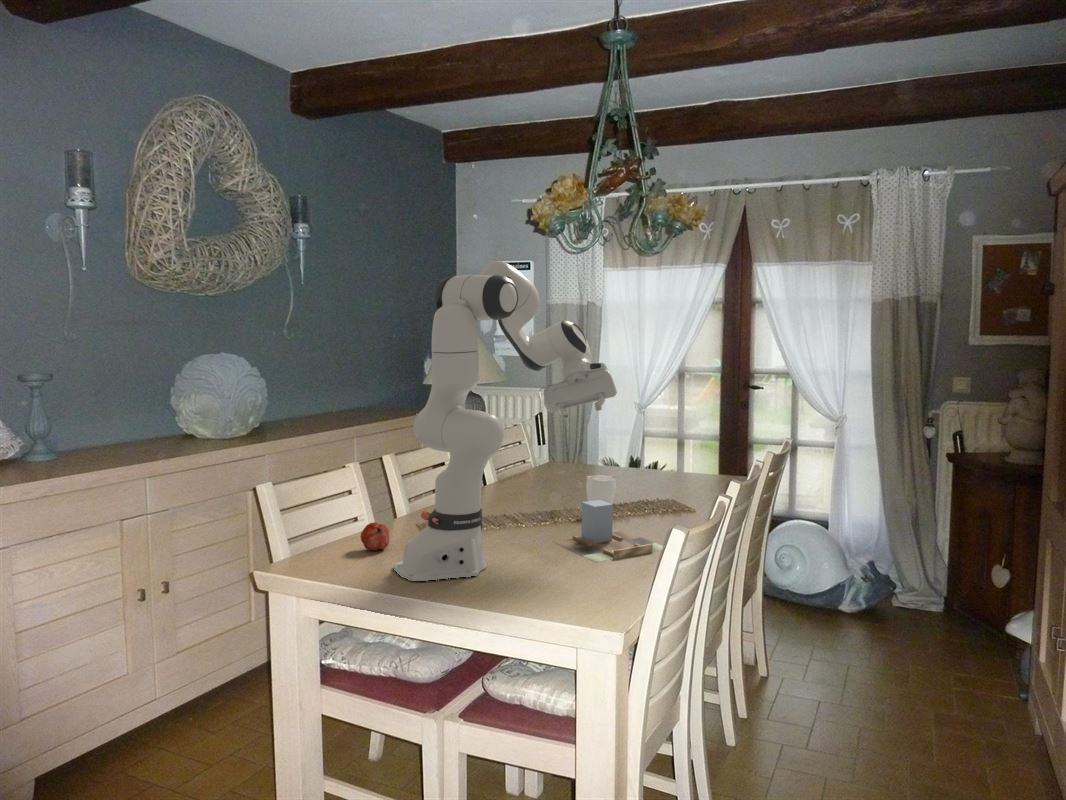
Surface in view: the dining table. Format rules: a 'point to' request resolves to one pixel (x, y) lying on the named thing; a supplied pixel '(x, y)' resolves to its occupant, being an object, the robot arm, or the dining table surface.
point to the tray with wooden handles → (611, 546)
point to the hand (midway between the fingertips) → (581, 413)
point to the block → (597, 521)
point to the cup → (600, 488)
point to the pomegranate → (375, 536)
